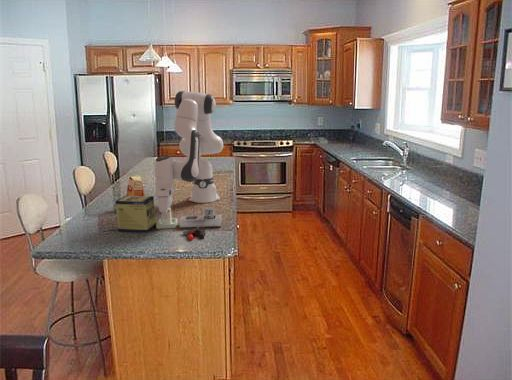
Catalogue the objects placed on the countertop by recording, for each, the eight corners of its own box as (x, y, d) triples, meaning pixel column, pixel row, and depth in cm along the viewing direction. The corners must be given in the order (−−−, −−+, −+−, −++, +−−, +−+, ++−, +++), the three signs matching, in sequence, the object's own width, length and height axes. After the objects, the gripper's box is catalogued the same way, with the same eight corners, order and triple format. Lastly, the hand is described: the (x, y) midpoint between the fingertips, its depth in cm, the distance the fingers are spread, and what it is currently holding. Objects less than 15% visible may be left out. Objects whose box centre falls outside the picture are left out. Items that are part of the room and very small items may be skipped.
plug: (163, 223, 221) (162, 207, 219) (172, 222, 221) (170, 207, 219) (162, 225, 217) (161, 210, 215) (170, 225, 217) (169, 209, 215)
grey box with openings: (181, 223, 222) (180, 207, 220) (221, 222, 222) (220, 205, 220) (178, 232, 208) (177, 214, 206) (220, 230, 209) (219, 213, 207)
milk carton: (134, 210, 247) (131, 176, 243) (125, 208, 253) (122, 174, 249) (148, 207, 254) (145, 173, 249) (139, 204, 260) (136, 171, 255)
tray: (160, 222, 224) (159, 218, 224) (177, 221, 224) (177, 218, 224) (156, 228, 214) (156, 224, 214) (175, 228, 215) (174, 224, 214)
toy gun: (182, 234, 207) (182, 224, 205) (207, 234, 205) (207, 224, 204) (176, 241, 197) (175, 230, 196) (202, 241, 195) (201, 231, 194)
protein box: (148, 232, 209) (145, 201, 205) (117, 231, 211) (114, 200, 208) (156, 226, 219) (154, 195, 215) (127, 225, 221) (124, 195, 218)
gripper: (162, 184, 225) (164, 210, 228) (154, 194, 205) (157, 222, 208) (174, 184, 225) (176, 210, 228) (168, 193, 205) (170, 221, 208)
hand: (167, 216), depth 218 cm, fingers open, 8 cm apart
